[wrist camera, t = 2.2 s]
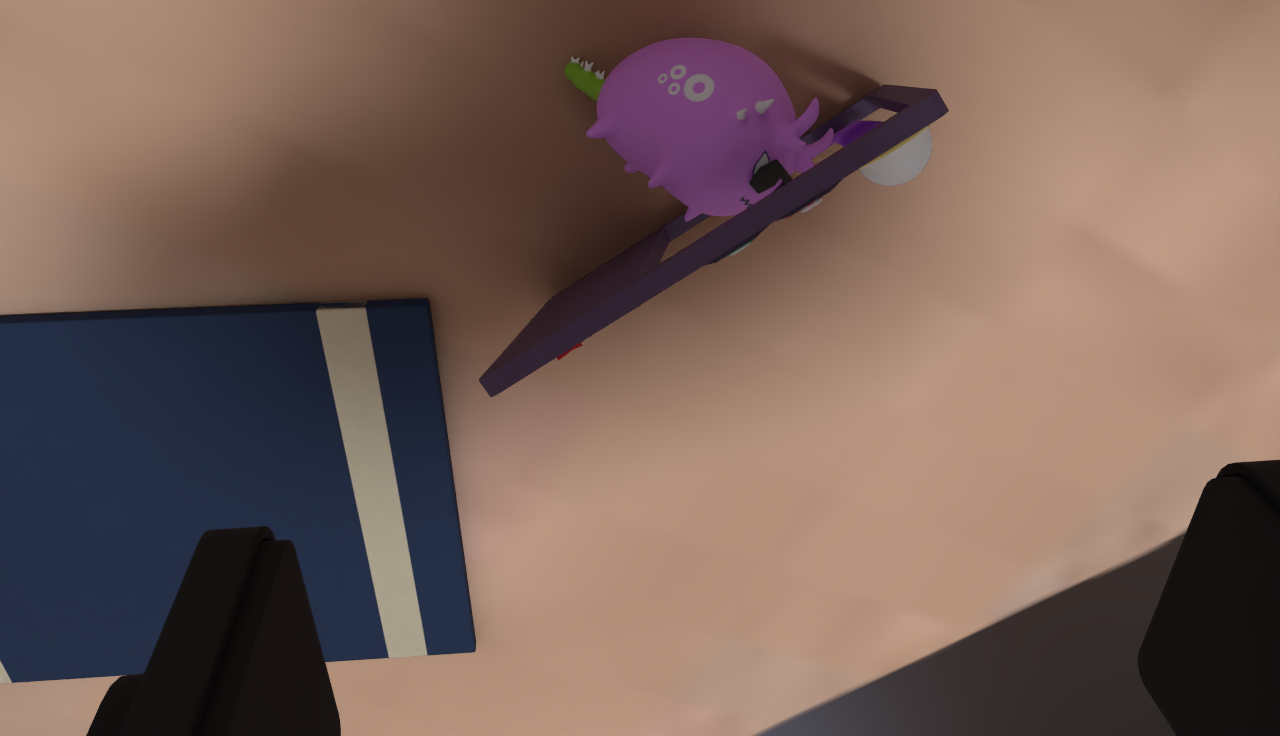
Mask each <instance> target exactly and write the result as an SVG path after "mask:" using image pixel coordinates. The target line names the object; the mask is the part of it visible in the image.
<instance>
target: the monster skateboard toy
mask: <svg viewBox="0 0 1280 736" xmlns="http://www.w3.org/2000/svg"><path fill="white" fill-rule="evenodd" d="M579 59H580V57H578V58H577V59H575V60H574V58H573V57H571V62H570V63H569V64H568V65H567V66H566V67H565V70H564V73H565V75H566V77H567V78H568V79H569V80H571V81H572V82H573V84H574V85H575V86H576V88H577V89H579V90H580V91H582V92H584V93H586V94H587V95H588V96H589V97H590V98H592V99H593V100H594V101H596V102H597V118H598V121H597V122H596V123H595V124H594V125H593V126H591V127H590V128H589V129H588V131H587V132H586V135H587V136H588V137H589V138H605V139H606V141H607V142H608V144H609V145H610V146H611V147H612V148H613V150H614V151H615V152H616V153H617V154H618V155H619V156H620V157H622V158H623V159H624V160H625V161H627V163H626V165H625V167H624V169H625V171H626V172H627V173H634V172H637V171H641V172H642V173H644V174H645V175H647V176H648V177H649V178H651V180H650V181H649V183H648V186H649V187H650V188H654V187H658V186H662V187H663V188H664V189H665V190H667V191H668V192H669V193H670V194H672V195H673V196H674V197H675V198H677V199H678V200H679V201H681V202H682V203H683V204H685V205H686V206H688V209H687V211H686V212H684V213H682V214H681V215H679V216H678V217H676V218H675V219H673V220H672V221H670V222H668V223H667V224H665V225H664V226H662V227H661V228H659V229H658V230H656V231H654V232H653V233H651V234H650V235H648V236H647V237H645V238H644V239H642V240H641V241H639V242H637V243H636V244H634V245H633V246H631V247H630V248H628V249H627V250H625V251H623V252H622V253H620V254H619V255H617V256H616V257H614V258H613V259H611V260H609V261H608V262H606V263H605V264H603V265H602V266H600V267H599V268H597V269H595V270H594V271H592V272H591V273H589V274H588V275H586V276H585V277H583V278H581V279H580V280H578V281H577V282H575V283H574V284H572V285H571V286H569V287H568V288H566V289H564V290H563V291H561V292H560V293H558V294H557V295H555V296H554V297H552V298H551V299H550V300H549V301H548V302H547V303H546V304H545V305H544V306H543V307H542V309H541V310H540V311H539V312H538V313H537V314H536V315H535V316H534V318H533V319H532V320H531V321H530V322H529V323H528V324H527V326H526V327H525V328H524V329H523V330H522V331H521V332H520V333H519V335H518V336H517V337H516V338H515V339H514V340H513V341H512V343H511V344H510V345H509V346H508V347H507V348H506V349H505V350H504V352H503V353H502V354H501V355H500V356H499V357H498V358H497V360H496V361H495V362H494V363H493V364H492V365H491V366H490V367H489V369H488V370H487V371H486V372H485V373H484V374H483V375H482V377H481V378H480V379H479V382H480V383H481V384H482V386H483V387H484V389H485V390H486V391H487V393H488V394H489V396H490V397H493V396H495V395H497V394H499V393H500V392H502V391H504V390H505V389H507V388H508V387H510V386H512V385H513V384H515V383H516V382H518V381H520V380H521V379H523V378H524V377H526V376H528V375H529V374H531V373H532V372H534V371H536V370H537V369H539V368H540V367H542V366H544V365H545V364H547V363H548V362H550V361H552V360H553V359H555V358H556V357H557V359H558V360H559V359H561V358H562V357H564V356H565V355H566V354H568V353H569V352H570V351H572V350H573V349H576V348H578V347H580V346H582V344H581V342H583V341H584V340H585V339H587V338H588V337H590V336H592V335H593V334H595V333H596V332H598V331H600V330H601V329H603V328H604V327H606V326H608V325H609V324H611V323H612V322H614V321H616V320H617V319H619V318H620V317H622V316H624V315H625V314H627V313H628V312H630V311H632V310H633V309H635V308H637V307H639V306H640V305H641V304H643V303H644V302H646V301H648V300H649V299H651V298H652V297H654V296H656V295H657V294H659V293H660V292H662V291H664V290H665V289H667V288H668V287H670V286H672V285H673V284H675V283H676V282H678V281H680V280H681V279H683V278H685V277H686V276H688V275H689V274H691V273H693V272H694V271H696V270H697V269H699V268H701V267H702V266H704V265H708V264H712V263H716V262H718V261H719V260H721V259H723V258H725V257H727V256H728V255H731V256H732V255H735V254H736V253H738V252H740V251H741V250H743V249H745V248H746V247H747V246H749V245H750V244H751V243H750V242H752V241H753V240H754V239H755V238H756V237H757V236H758V235H759V234H760V233H761V232H762V231H763V230H764V229H765V228H766V227H767V226H768V225H769V224H771V223H773V222H774V221H777V220H780V219H784V218H789V217H791V216H792V215H793V214H795V213H796V212H798V211H801V212H802V213H805V212H807V211H809V210H810V209H812V208H813V207H815V206H817V205H818V204H819V203H821V202H822V201H823V200H822V198H821V197H822V196H824V195H825V194H827V193H829V192H830V191H831V190H832V189H833V188H834V187H835V186H836V185H837V184H838V183H839V182H840V181H841V180H842V179H843V178H845V177H846V176H848V175H849V174H851V173H853V172H854V171H856V170H859V171H860V173H861V174H862V175H863V176H864V177H866V178H867V179H868V180H870V181H872V182H874V183H876V184H879V185H884V186H896V185H901V184H904V183H906V182H909V181H910V180H912V179H914V178H915V177H916V176H917V175H919V174H920V173H921V172H922V170H923V169H924V168H925V166H926V165H927V163H928V161H929V158H930V155H931V151H932V136H931V132H930V129H929V127H928V126H929V125H930V124H931V123H933V122H934V121H936V120H938V119H939V118H941V117H942V116H943V115H945V114H946V113H947V112H948V111H949V110H948V108H947V107H946V105H945V103H944V101H943V100H942V98H941V96H940V94H939V93H938V91H937V89H927V88H916V87H906V86H895V85H882V86H880V87H878V88H877V89H875V90H874V91H872V92H870V93H869V94H867V95H866V96H864V97H863V98H861V99H859V100H858V101H856V102H855V103H853V104H852V105H850V106H849V107H847V108H846V109H844V110H842V111H841V112H839V113H838V114H836V115H835V116H833V117H832V118H830V119H828V120H827V121H825V122H824V123H822V124H821V125H819V126H818V127H816V128H814V129H813V130H811V131H810V132H808V133H807V134H805V135H804V136H802V135H803V134H804V133H805V132H806V131H807V130H808V129H809V128H810V127H811V126H812V125H813V124H814V123H815V121H816V120H817V118H818V115H819V101H818V99H817V98H814V99H813V100H812V102H811V103H810V105H809V107H808V108H807V109H806V111H805V112H804V113H803V114H802V115H801V116H800V117H799V118H798V119H796V115H795V111H794V108H793V105H792V102H791V99H790V97H789V95H788V93H787V91H786V89H785V87H784V85H783V83H782V82H781V80H780V79H779V77H778V76H777V75H776V74H775V72H774V71H773V70H772V69H771V68H770V67H769V66H768V65H767V64H766V63H765V62H764V61H763V60H762V59H760V58H759V57H758V56H756V55H755V54H753V53H751V52H750V51H748V50H746V49H744V48H742V47H739V46H736V45H734V44H731V43H727V42H723V41H719V40H714V39H707V38H675V39H668V40H664V41H660V42H656V43H653V44H650V45H648V46H645V47H643V48H641V49H639V50H637V51H635V52H634V53H632V54H631V55H629V56H628V57H626V58H625V59H624V60H623V61H621V62H620V63H619V64H618V65H617V66H616V67H615V68H614V69H613V70H612V72H611V73H610V74H609V76H608V77H607V79H606V80H605V79H604V71H603V72H602V73H601V74H599V73H600V70H599V71H597V72H596V73H593V72H592V71H591V68H592V65H593V62H592V63H590V64H589V65H588V63H587V61H585V68H583V63H584V61H583V62H582V63H580V64H579ZM879 108H883V109H886V110H890V111H894V112H897V114H895V115H894V116H892V117H891V118H889V119H888V120H886V121H884V122H881V121H860V120H862V119H863V118H865V117H866V116H868V115H869V114H871V113H873V112H874V111H876V110H877V109H879ZM801 136H802V137H801ZM834 143H838V144H840V145H842V146H843V148H842V149H840V150H839V151H837V152H835V153H834V154H832V155H831V156H829V157H828V158H826V159H824V160H823V161H821V162H820V163H818V164H817V165H815V164H814V163H813V162H812V159H813V158H814V157H816V156H817V155H818V154H820V153H821V152H823V151H824V150H825V149H827V148H828V147H829V146H831V145H832V144H834ZM795 171H798V172H802V174H801V175H799V176H798V177H796V178H794V179H792V178H791V177H790V176H791V175H792V173H793V172H795ZM711 215H712V216H733V215H736V216H734V217H733V218H731V219H730V220H728V221H726V222H725V223H723V224H722V225H720V226H719V227H717V228H715V229H714V230H712V231H711V232H709V233H708V234H706V235H704V236H703V237H701V238H700V239H698V240H696V241H695V242H693V243H692V244H690V245H689V246H687V247H685V248H684V249H682V250H681V251H679V252H678V253H676V254H674V255H673V256H671V257H670V258H668V259H666V260H665V261H663V262H662V263H660V264H659V262H660V260H661V258H662V256H663V254H664V252H665V250H666V248H667V246H668V244H669V243H670V242H671V241H672V240H673V239H675V238H677V237H678V236H680V235H681V234H683V233H684V232H686V231H688V230H689V229H691V228H692V227H694V226H695V225H697V224H698V223H700V222H702V221H703V220H705V219H706V218H708V217H709V216H711ZM658 264H659V265H658Z"/></svg>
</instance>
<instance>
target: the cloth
mask: <svg viewBox="0 0 1280 736" xmlns="http://www.w3.org/2000/svg"><path fill="white" fill-rule="evenodd" d="M260 526H267V527H269V528H270V529H271V530H272V531H273V533H274V536H275V539H276V540H291V541H292V542H293V544H294V547H295V549H296V553H297V557H298V561H299V564H300V568H301V572H302V576H303V580H304V584H305V587H306V591H307V595H308V599H309V603H310V606H311V610H312V614H313V618H314V622H315V626H316V629H317V633H318V637H319V641H320V645H321V648H322V652H323V656H324V660H325V662H334V661H349V660H364V659H379V658H398V657H413V656H427V655H440V654H455V653H470V652H475V650H476V638H475V631H474V624H473V617H472V609H471V602H470V595H469V587H468V580H467V573H466V565H465V558H464V551H463V544H462V536H461V529H460V522H459V514H458V507H457V500H456V493H455V485H454V478H453V471H452V463H451V456H450V449H449V441H448V434H447V427H446V420H445V412H444V405H443V398H442V390H441V383H440V376H439V368H438V361H437V354H436V347H435V339H434V332H433V325H432V317H431V310H430V303H429V299H427V298H426V299H402V300H378V301H350V302H326V303H306V304H282V305H257V306H233V307H209V308H185V309H161V310H137V311H113V312H88V313H64V314H40V315H16V316H0V684H4V683H15V682H30V681H46V680H61V679H76V678H91V677H106V676H121V675H133V674H144V672H145V670H146V668H147V665H148V663H149V660H150V658H151V655H152V653H153V651H154V648H155V646H156V643H157V641H158V638H159V636H160V634H161V631H162V629H163V626H164V624H165V622H166V619H167V617H168V614H169V612H170V609H171V607H172V605H173V602H174V600H175V597H176V595H177V592H178V590H179V588H180V585H181V583H182V580H183V578H184V576H185V573H186V571H187V568H188V566H189V563H190V561H191V559H192V556H193V554H194V551H195V549H196V546H197V544H198V542H199V540H200V538H201V536H202V535H203V533H204V532H206V531H207V530H214V529H229V528H245V527H260Z"/></svg>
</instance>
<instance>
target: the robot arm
mask: <svg viewBox="0 0 1280 736" xmlns="http://www.w3.org/2000/svg"><path fill="white" fill-rule="evenodd" d="M1138 667H1139V673H1140V676H1141V679H1142V682H1143V683H1144V685H1145V687H1146V689H1147V691H1148V692H1149V694H1150V695H1151V697H1152V698H1153V700H1154V701H1155V703H1156V704H1157V706H1158V708H1159V709H1160V711H1161V712H1162V714H1163V715H1164V717H1165V718H1166V719H1167V721H1168V723H1169V724H1170V726H1171V728H1172V729H1173V731H1174V732H1175V734H1176V735H1177V736H1280V460H1270V461H1254V462H1239V463H1232V464H1228V465H1226V466H1225V467H1224V468H1222V469H1221V470H1220V472H1219V474H1218V475H1217V477H1216V478H1214V479H1211V480H1210V481H1209V482H1207V484H1206V486H1205V487H1204V489H1203V492H1202V494H1201V497H1200V499H1199V502H1198V504H1197V507H1196V509H1195V512H1194V514H1193V517H1192V519H1191V522H1190V524H1189V527H1188V529H1187V532H1186V534H1185V537H1184V539H1183V542H1182V544H1181V547H1180V549H1179V552H1178V554H1177V557H1176V560H1175V562H1174V565H1173V567H1172V570H1171V572H1170V575H1169V577H1168V580H1167V582H1166V585H1165V587H1164V590H1163V592H1162V595H1161V598H1160V600H1159V602H1158V605H1157V607H1156V610H1155V612H1154V615H1153V617H1152V620H1151V623H1150V625H1149V627H1148V630H1147V632H1146V635H1145V638H1144V640H1143V643H1142V645H1141V648H1140V651H1139V655H1138ZM86 736H341V727H340V718H339V713H338V709H337V706H336V702H335V698H334V694H333V690H332V687H331V683H330V679H329V675H328V671H327V667H326V664H325V660H324V656H323V652H322V648H321V645H320V641H319V637H318V633H317V629H316V626H315V622H314V618H313V614H312V610H311V606H310V603H309V599H308V595H307V591H306V587H305V584H304V580H303V576H302V572H301V568H300V564H299V561H298V557H297V553H296V549H295V547H294V544H293V542H292V541H291V540H276V539H275V536H274V533H273V531H272V530H271V529H270V528H269V527H267V526H260V527H245V528H229V529H214V530H207V531H206V532H204V533H203V535H202V536H201V538H200V540H199V542H198V544H197V546H196V549H195V551H194V554H193V556H192V559H191V561H190V563H189V566H188V568H187V571H186V573H185V576H184V578H183V580H182V583H181V585H180V588H179V590H178V592H177V595H176V597H175V600H174V602H173V605H172V607H171V609H170V612H169V614H168V617H167V619H166V622H165V624H164V626H163V629H162V631H161V634H160V636H159V638H158V641H157V643H156V646H155V648H154V651H153V653H152V655H151V658H150V660H149V663H148V665H147V668H146V670H145V672H144V674H133V675H126V676H121V677H120V678H118V679H117V680H116V681H115V682H114V683H113V684H112V685H111V686H110V688H109V689H108V691H107V693H106V695H105V696H104V698H103V700H102V702H101V704H100V706H99V708H98V711H97V713H96V715H95V717H94V720H93V722H92V724H91V726H90V729H89V731H88V733H87V735H86Z"/></svg>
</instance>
